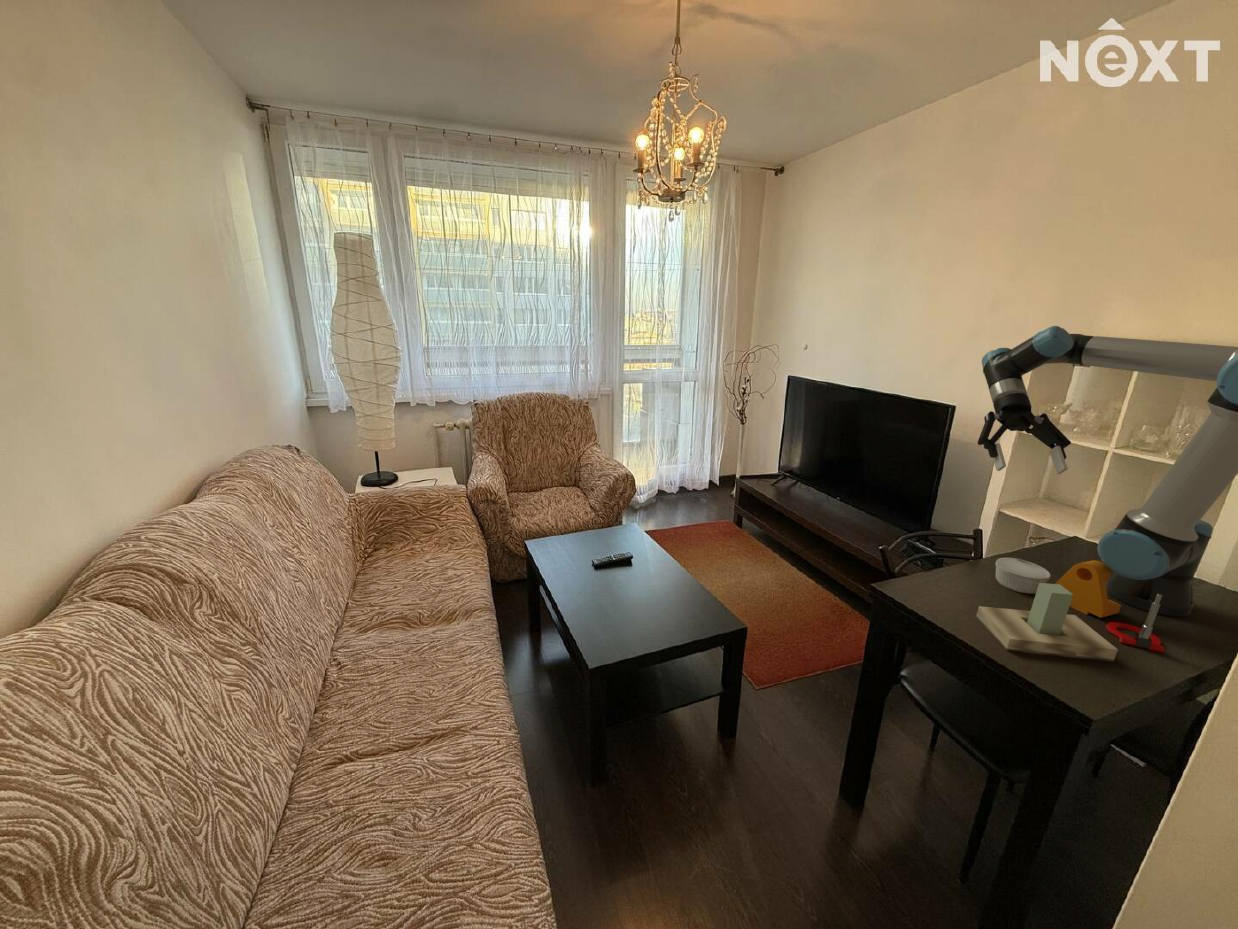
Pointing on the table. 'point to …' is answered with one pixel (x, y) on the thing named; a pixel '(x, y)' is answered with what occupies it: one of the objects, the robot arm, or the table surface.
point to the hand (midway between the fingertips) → (1031, 470)
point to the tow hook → (1140, 630)
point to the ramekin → (1020, 575)
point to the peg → (1049, 609)
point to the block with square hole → (1045, 636)
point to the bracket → (1089, 588)
